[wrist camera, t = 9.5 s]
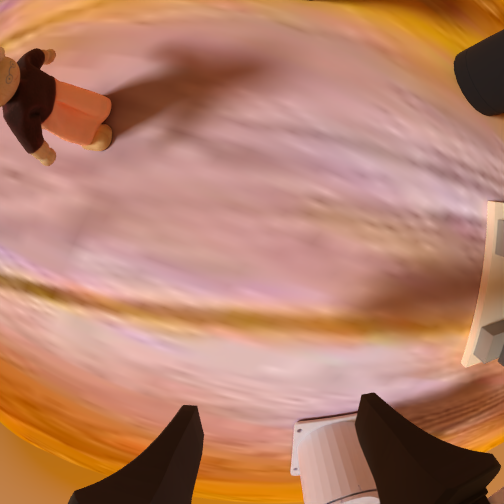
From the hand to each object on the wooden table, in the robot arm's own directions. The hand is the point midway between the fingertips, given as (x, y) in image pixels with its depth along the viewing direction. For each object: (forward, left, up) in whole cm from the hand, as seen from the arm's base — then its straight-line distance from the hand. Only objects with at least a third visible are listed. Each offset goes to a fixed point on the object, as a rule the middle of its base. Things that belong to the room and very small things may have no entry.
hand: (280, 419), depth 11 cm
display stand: (+1, -24, -9) cm, 26 cm away
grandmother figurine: (+16, +12, -10) cm, 22 cm away
